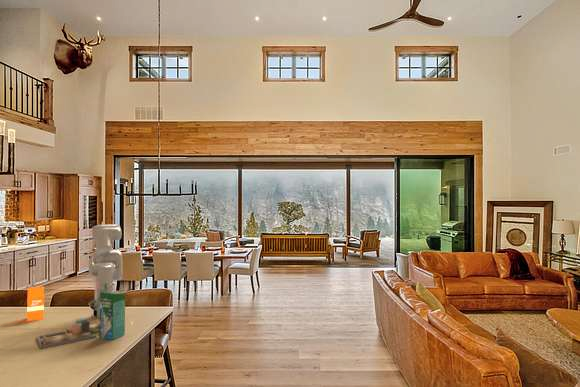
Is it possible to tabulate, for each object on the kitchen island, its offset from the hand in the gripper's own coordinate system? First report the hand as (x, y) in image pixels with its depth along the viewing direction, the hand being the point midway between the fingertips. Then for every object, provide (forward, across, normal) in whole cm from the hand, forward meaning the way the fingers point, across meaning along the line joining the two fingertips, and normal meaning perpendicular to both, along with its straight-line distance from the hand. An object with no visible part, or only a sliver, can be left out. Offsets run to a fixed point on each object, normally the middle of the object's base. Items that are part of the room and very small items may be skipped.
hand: (104, 315), depth 219 cm
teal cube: (+5, +12, +1) cm, 13 cm away
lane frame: (+7, +20, +6) cm, 22 cm away
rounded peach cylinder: (+4, +16, +10) cm, 20 cm away
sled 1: (+7, +21, +10) cm, 24 cm away
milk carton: (+7, 0, +19) cm, 20 cm away
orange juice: (+9, +30, -47) cm, 57 cm away
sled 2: (+7, +9, +1) cm, 12 cm away
